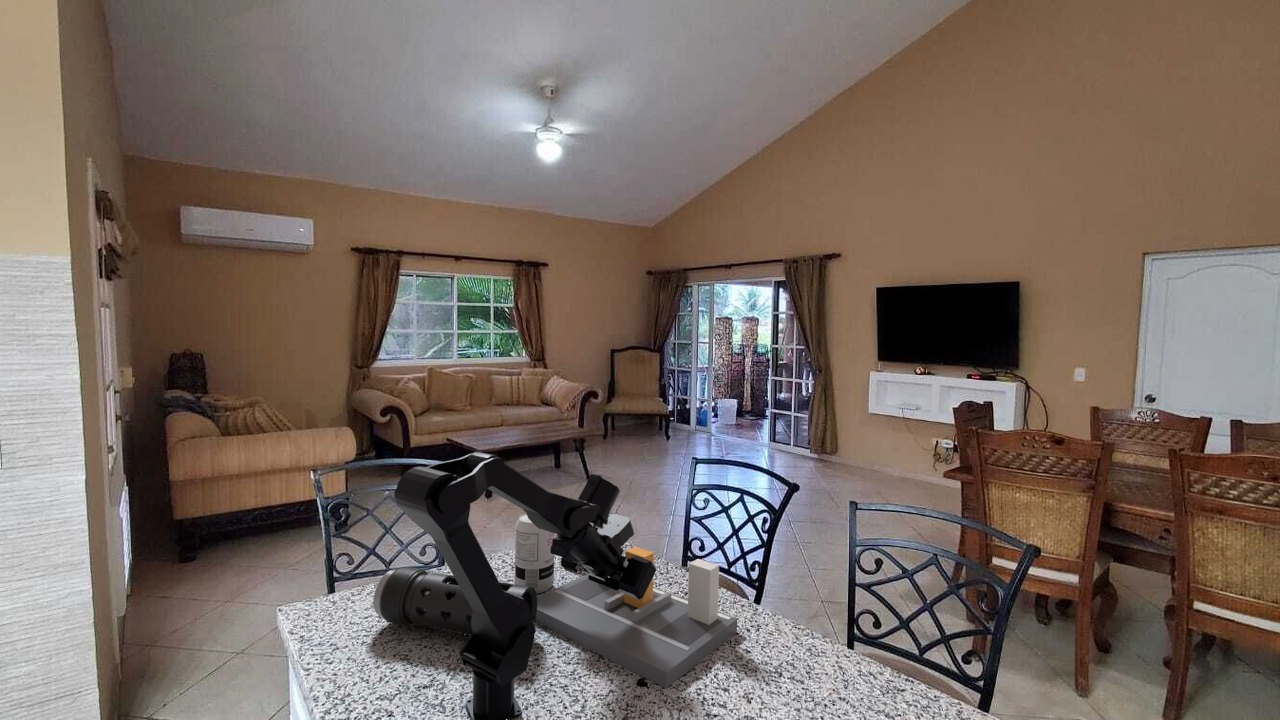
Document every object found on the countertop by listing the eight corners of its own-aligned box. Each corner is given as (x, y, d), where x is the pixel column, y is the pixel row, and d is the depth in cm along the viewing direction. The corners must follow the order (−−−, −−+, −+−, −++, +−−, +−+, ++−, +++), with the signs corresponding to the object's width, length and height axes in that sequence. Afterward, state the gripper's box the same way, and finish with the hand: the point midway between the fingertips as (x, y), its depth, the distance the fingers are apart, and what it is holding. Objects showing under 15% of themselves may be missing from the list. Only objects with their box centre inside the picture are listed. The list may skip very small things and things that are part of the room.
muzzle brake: (513, 661, 92) (514, 599, 92) (369, 635, 99) (370, 577, 99) (537, 632, 101) (538, 576, 101) (404, 610, 108) (405, 557, 108)
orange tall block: (642, 610, 105) (644, 557, 104) (624, 602, 107) (625, 551, 107) (652, 604, 107) (653, 552, 107) (634, 596, 110) (635, 546, 109)
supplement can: (510, 582, 121) (511, 514, 121) (547, 576, 125) (548, 510, 124) (519, 598, 114) (520, 525, 114) (558, 591, 118) (559, 521, 117)
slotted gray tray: (666, 688, 86) (668, 608, 85) (523, 615, 107) (524, 551, 107) (736, 632, 103) (738, 565, 102) (601, 578, 124) (602, 523, 124)
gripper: (650, 516, 94) (686, 561, 103) (573, 494, 105) (611, 537, 114) (619, 577, 88) (659, 619, 97) (540, 547, 100) (583, 587, 109)
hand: (627, 587), depth 104 cm, fingers closed
